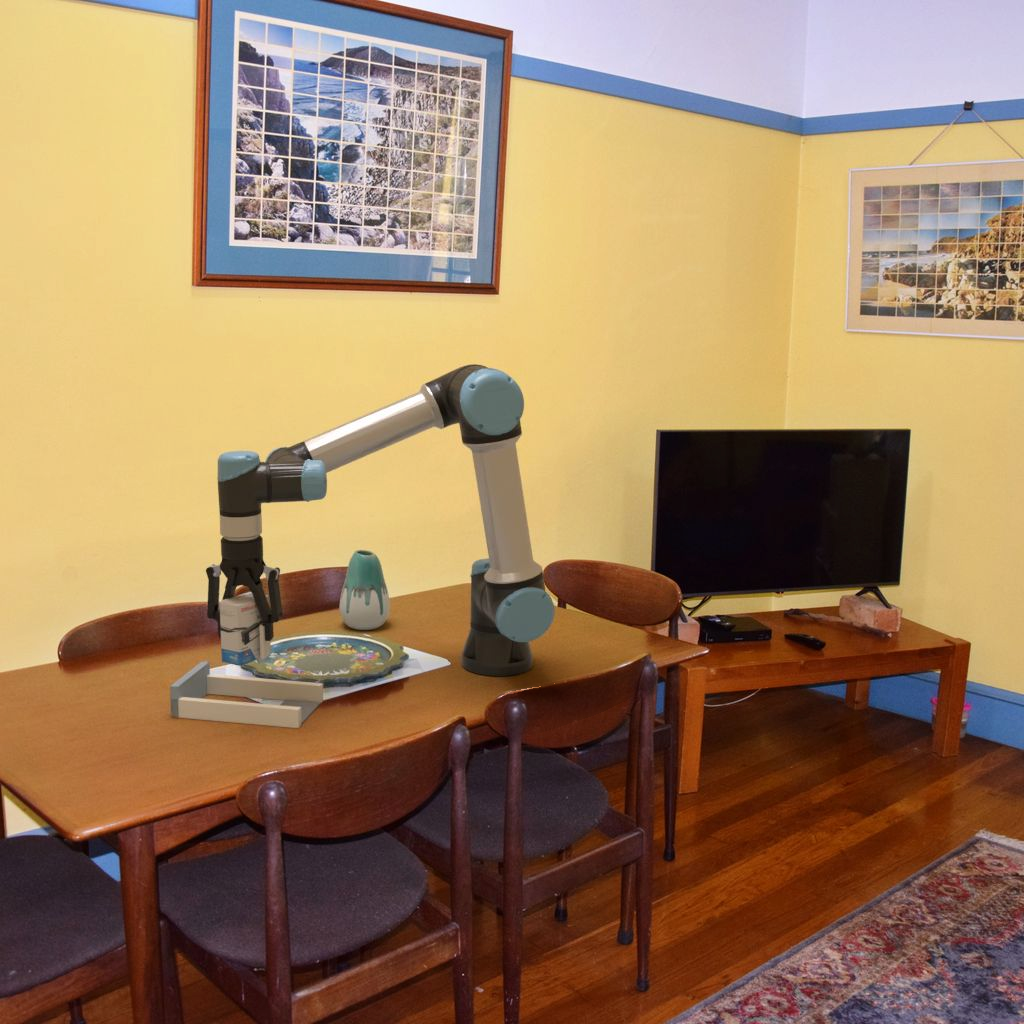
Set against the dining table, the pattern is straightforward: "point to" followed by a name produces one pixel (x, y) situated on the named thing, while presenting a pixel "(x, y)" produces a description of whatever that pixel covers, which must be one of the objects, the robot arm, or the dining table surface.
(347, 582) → the vase
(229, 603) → the ink box
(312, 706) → the mat
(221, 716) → the bay
